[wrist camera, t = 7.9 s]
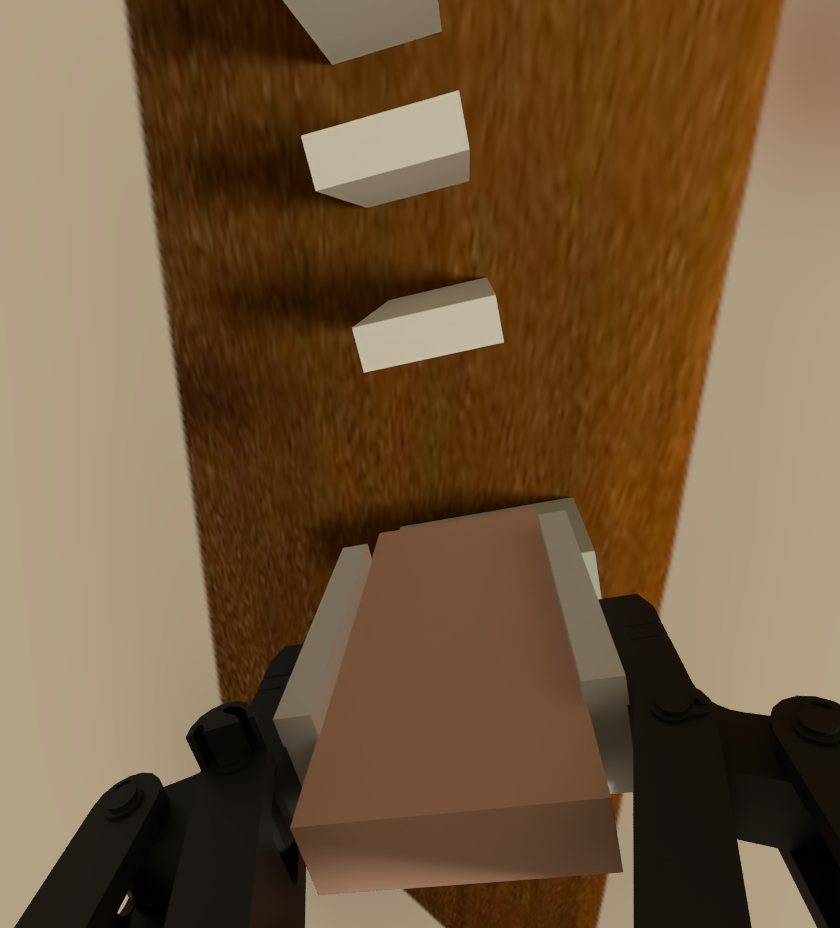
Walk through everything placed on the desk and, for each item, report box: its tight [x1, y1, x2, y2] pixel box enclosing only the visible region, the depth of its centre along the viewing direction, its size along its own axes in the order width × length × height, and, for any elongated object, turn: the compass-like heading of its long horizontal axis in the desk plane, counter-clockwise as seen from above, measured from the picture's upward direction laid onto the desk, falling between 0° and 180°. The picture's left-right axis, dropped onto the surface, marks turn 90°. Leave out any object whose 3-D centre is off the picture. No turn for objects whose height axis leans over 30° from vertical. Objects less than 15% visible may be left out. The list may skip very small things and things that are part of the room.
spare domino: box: [290, 506, 623, 895], centre depth 14 cm, size 2×5×10 cm, turn 103°
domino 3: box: [301, 90, 469, 208], centre depth 22 cm, size 2×5×10 cm, turn 103°
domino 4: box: [352, 277, 504, 372], centre depth 24 cm, size 2×5×10 cm, turn 103°
